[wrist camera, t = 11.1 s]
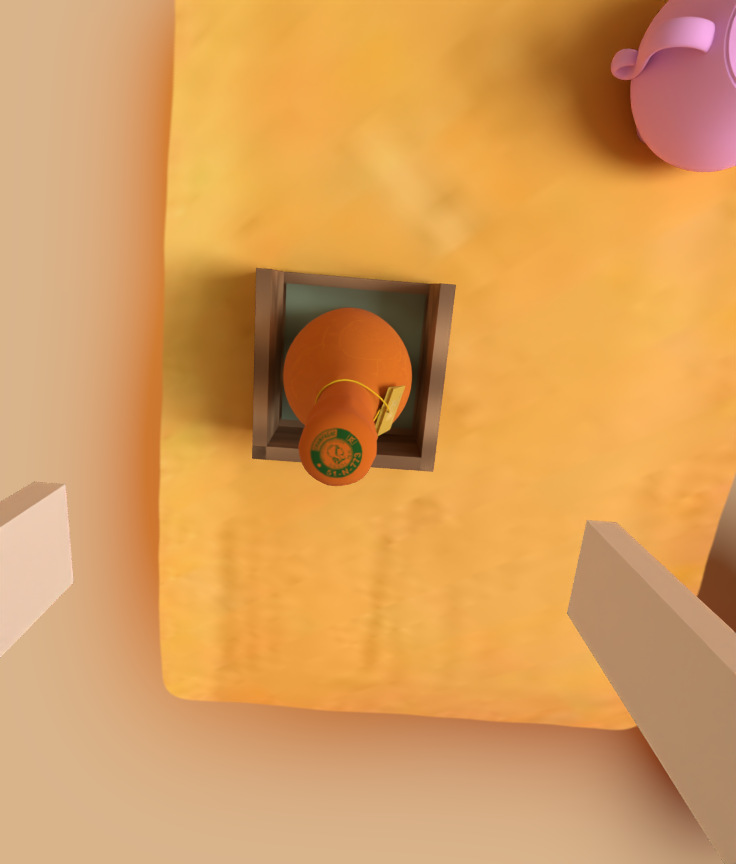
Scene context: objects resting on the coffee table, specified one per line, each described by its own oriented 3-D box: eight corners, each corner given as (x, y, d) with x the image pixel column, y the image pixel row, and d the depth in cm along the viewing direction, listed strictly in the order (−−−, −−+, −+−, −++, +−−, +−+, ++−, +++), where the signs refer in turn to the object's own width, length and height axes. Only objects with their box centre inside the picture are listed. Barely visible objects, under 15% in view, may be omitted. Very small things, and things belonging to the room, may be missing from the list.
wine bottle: (338, 426, 52) (309, 603, 23) (278, 344, 49) (163, 424, 20) (421, 371, 50) (503, 485, 21) (363, 284, 48) (368, 279, 19)
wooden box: (273, 271, 49) (256, 268, 41) (440, 285, 50) (455, 284, 42) (268, 433, 53) (252, 458, 45) (422, 444, 54) (433, 471, 46)
